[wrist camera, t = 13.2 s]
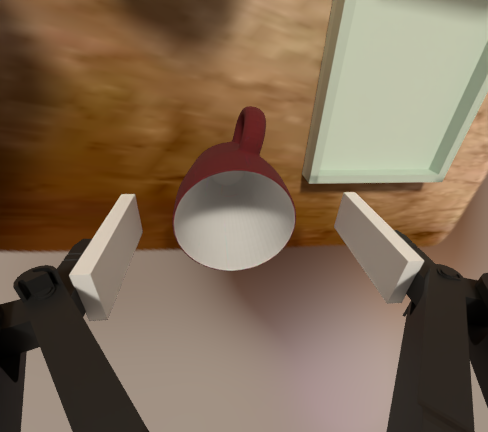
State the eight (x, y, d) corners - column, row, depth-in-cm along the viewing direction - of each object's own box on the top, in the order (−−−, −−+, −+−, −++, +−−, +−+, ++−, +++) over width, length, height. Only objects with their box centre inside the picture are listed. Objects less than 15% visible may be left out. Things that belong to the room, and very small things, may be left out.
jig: (301, 174, 26) (308, 183, 24) (392, -337, 12) (424, -405, 10) (426, 173, 28) (442, 182, 26) (634, -278, 14) (699, -328, 12)
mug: (187, 86, 21) (173, 112, 13) (282, 102, 22) (326, 134, 14) (182, 199, 26) (170, 269, 18) (259, 206, 28) (280, 273, 20)
